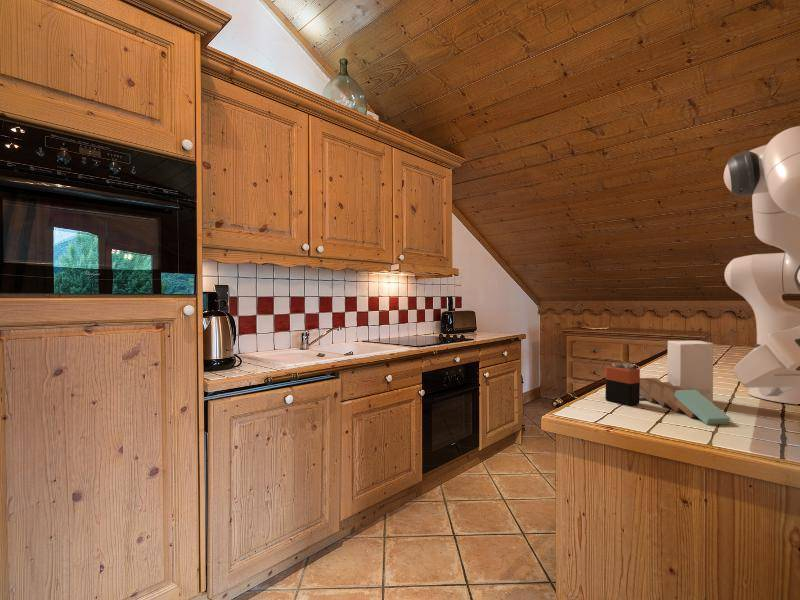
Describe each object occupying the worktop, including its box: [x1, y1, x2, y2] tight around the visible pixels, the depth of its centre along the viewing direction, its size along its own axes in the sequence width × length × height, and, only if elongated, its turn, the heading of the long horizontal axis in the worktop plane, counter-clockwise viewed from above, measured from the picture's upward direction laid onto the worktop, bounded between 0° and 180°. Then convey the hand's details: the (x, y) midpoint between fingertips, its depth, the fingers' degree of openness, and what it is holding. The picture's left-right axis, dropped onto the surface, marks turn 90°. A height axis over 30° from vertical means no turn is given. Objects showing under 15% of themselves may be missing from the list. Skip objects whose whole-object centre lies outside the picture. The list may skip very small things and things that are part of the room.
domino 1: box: [640, 386, 657, 403], centre depth 108 cm, size 5×2×10 cm
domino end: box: [674, 390, 731, 426], centre depth 91 cm, size 5×2×10 cm
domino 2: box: [640, 377, 671, 408], centre depth 104 cm, size 5×2×10 cm
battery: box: [604, 362, 641, 407], centre depth 104 cm, size 4×7×10 cm, turn 32°
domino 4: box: [661, 386, 699, 419], centre depth 95 cm, size 5×2×10 cm
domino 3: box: [649, 381, 685, 414], centre depth 99 cm, size 5×2×10 cm
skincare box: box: [666, 340, 715, 404], centre depth 105 cm, size 8×7×16 cm
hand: (767, 393), depth 76 cm, fingers closed
